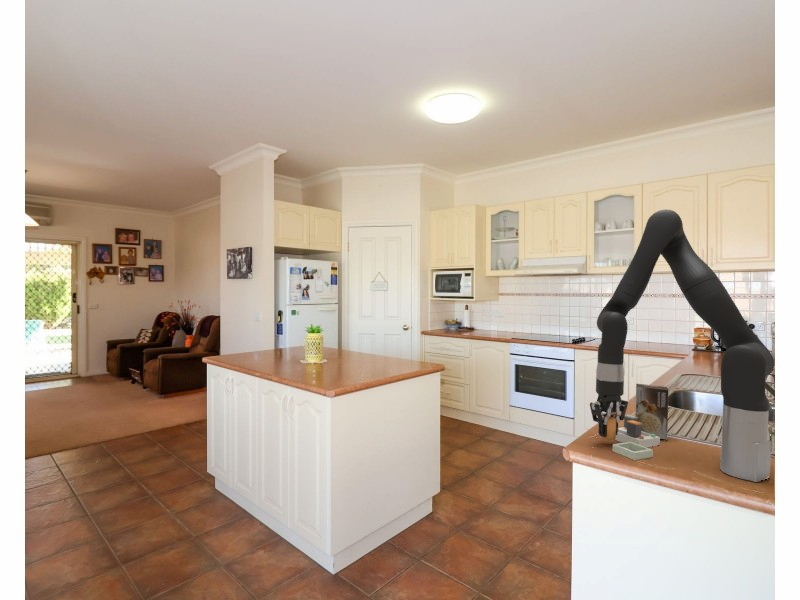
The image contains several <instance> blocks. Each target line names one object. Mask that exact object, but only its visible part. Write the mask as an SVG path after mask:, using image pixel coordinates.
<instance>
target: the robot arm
mask: <svg viewBox="0 0 800 600" xmlns="http://www.w3.org/2000/svg"><path fill="white" fill-rule="evenodd" d="M639 241H640V242H639V243H638V246H637V249H636V252H635V253H634V256H633V258H632V260H631V261H630V263H629V265H628V266H627V268H626V271H625V273H624V274H623V276H622V277H621V279H620V281H619V283H618V285H616V286H617V287H616V288H615V291H614V292H613V295H612V296H611V298H610V299H609V300H608V301H607V303H606V304H605V305H604V307H603V308H602V309H601V311H600V313H599V314H598V316H597V318H596V327H597V329H598V331H599V332H601V341H600V342H601V343H600V344H599V345H598V347H597V365H596V369H595V370H596V371H595V373H596V374H595V375H596V376H595V393H597V399H596V401H595V402H592V401H591V402H590V403H589V409H590V413H591V416H592V421H593V422H596V423H598V431H597V432H598V435H599V436H600V437H601V436H602V437H607V425H606V424H607V420H608V417H614V418H616V435H617V433H618V428H619V424H620V423H621V421H624V417H625V415H626V413H627V409H628V404H629V402H628V401H627V400H623V399H622V396H624V393H625V392H624V389H625V387H624V385H625V368H624V363H625V362H624V355H625V352H624V349H625V348H624V347H625V345H626V341H627V336H628V329H629V328H628V321H627V318H626V317H627V315H628V314H629V313H630V311H631V310H632V309H634V308H635V307H636V306H637V305H638V303H639V301H640V299H642V296H643V294H644V292H645V291H646V289H647V287H648V285H649V283H650V280H651V277H652V274H653V272H654V269H655V266H656V264H657V263H658V260H659V258H660V256H662V257H663V259H664V260H665V262H666V263H667V264H668V266H669V268H670V270H671V272H672V275H673V278H674V279H675V281H676V283H677V285H678V287H679V289H680V291H681V292H682V294H683V296H684V298H685V300H686V301H687V303H688V304H689V306H690V307H691V308H692V310H693V311H694V312H695V313H696V315H697V316H699V318H700V319H701V320H702V321H703V322H704V323H705V324H707V325H708V326H709V327H710V328H711V329H712V330H713V331H714V332H715V334H717V336H718V338H719V339H720V340H721V343H722V344H723V346H724V347H725V349H726V350H725V351H724V353H723V355H722V358H721V363H720V393H721V395H722V397H723V400H722V401H723V402H722V403H723V404H722V420H721V423H722V424H721V442H720V443H721V445H720V467H719V468H720V469H719V470H721V472H722V473H724V474H726V475H729V476H732V477H734V478H738V479H740V480H741V479H742V480H746V481H751V482H754V483H758V482H762V481H761V480H763V481H766V480H765V479H766V478H767V477H768V476H770V477H771V459H772V441H771V440H768V435H769V434H768V433H769V432H768V431H769V413H770V411H769V410H770V409H769V408H770V401H769V400H770V399H769V398H768V397H767V394H766V379H767V377H769V376H770V375H771V374H772V373H773V371H774V369H775V358H774V356H773V354H772V353H771V351H770V349H768V347H766V345H765V344H764V343H763V342H762V341H761V339H760V338H759V337H758V335H757V334H756V333H754V331H753V329H752V328H751V326H749V324H748V323H747V322H746V320H745V319H744V316H743V315H742V314H741V312H740V309H739V308H738V307H737V305H736V303H735V302H734V300H733V298H732V297H731V295H730V294H729V292H728V290H727V288H726V287H725V286H724V285H723V283H722V281H721V280H720V278H719V277H718V276H717V274H716V272H714V271H713V269H712V268H711V267H710V266H709V265H708V264H707V263H706V262H705V261H704V260H703V259H701V257H700V256H699V255H698V254H697V253H696V251H695V250H694V248H693V247H692V245H691V243H690V242H689V239H688V237H687V236H686V234H685V230H684V224H683V221H682V218H681V216H680V215H679V214H678V213H677V212H676V211H674V210H672V209H660V210H657V211H655V212H654V213H653V214H652V215H650V216H649V217H648V219H647V222H646V224H645V227H644V231H643V233H642V236H641V239H640V240H639ZM602 416H604V419H603V420H602Z"/></svg>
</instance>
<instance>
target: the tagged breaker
mask: <svg viewBox="0 0 800 600" xmlns="http://www.w3.org/2000/svg"><path fill="white" fill-rule="evenodd" d="M641 424H642V423H640V422H637V421H634V420H630V421H627V434H629V435H632V436H635V437H637V436H640V435H641Z"/></svg>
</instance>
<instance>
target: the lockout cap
mask: <svg viewBox="0 0 800 600" xmlns="http://www.w3.org/2000/svg"><path fill="white" fill-rule="evenodd" d="M603 419H604V416H602V420H603ZM606 425H607V437H602V436H600V438H601V439H603V440H608V441H614V440H615V439H616V418H614V417H608V420H607V424H606ZM615 441H616V440H615Z"/></svg>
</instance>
